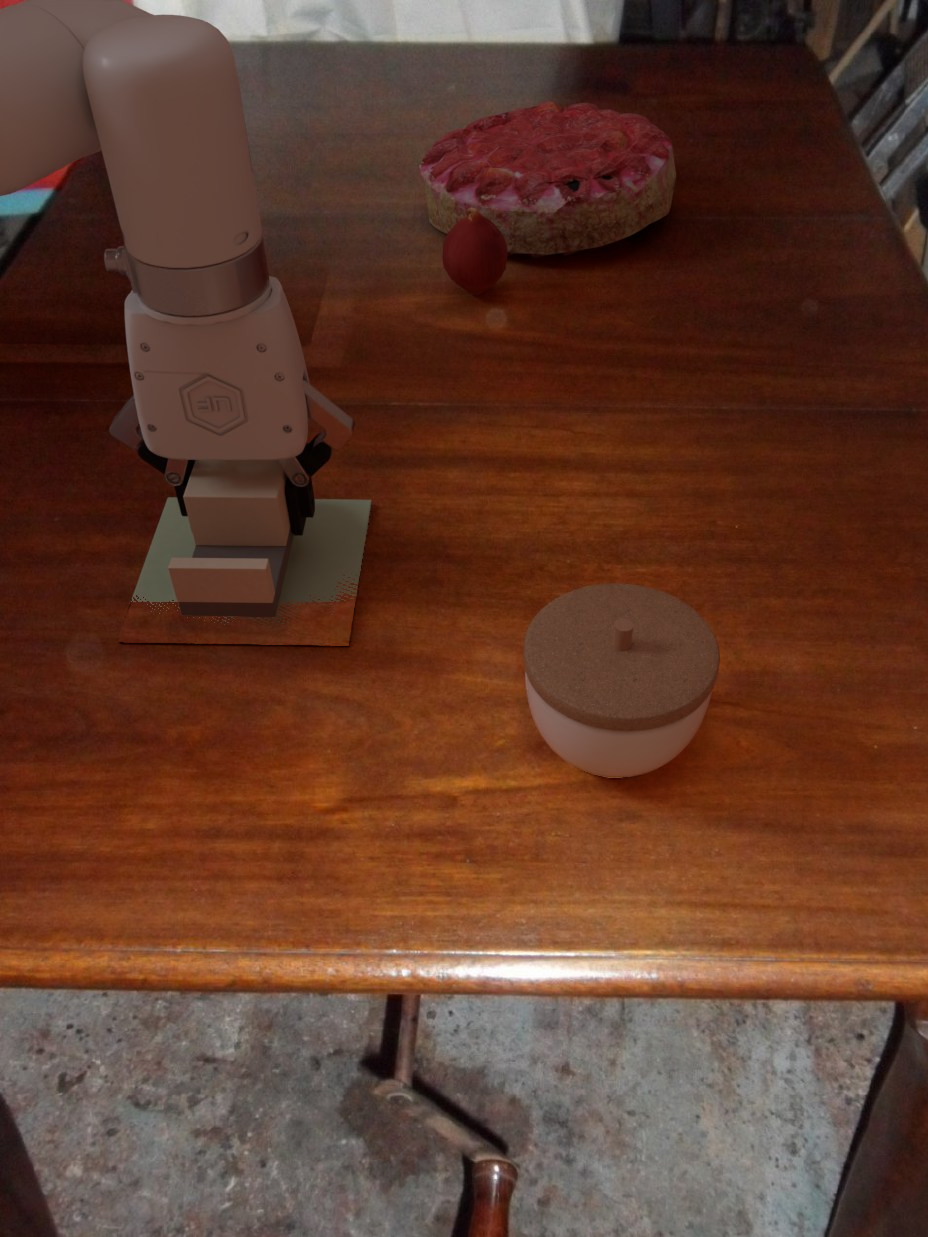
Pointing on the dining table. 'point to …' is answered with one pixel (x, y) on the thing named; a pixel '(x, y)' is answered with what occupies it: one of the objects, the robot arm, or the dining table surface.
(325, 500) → the mat
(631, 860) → the dining table surface
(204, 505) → the block with front tab
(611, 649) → the trinket box
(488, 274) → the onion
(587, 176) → the cake
